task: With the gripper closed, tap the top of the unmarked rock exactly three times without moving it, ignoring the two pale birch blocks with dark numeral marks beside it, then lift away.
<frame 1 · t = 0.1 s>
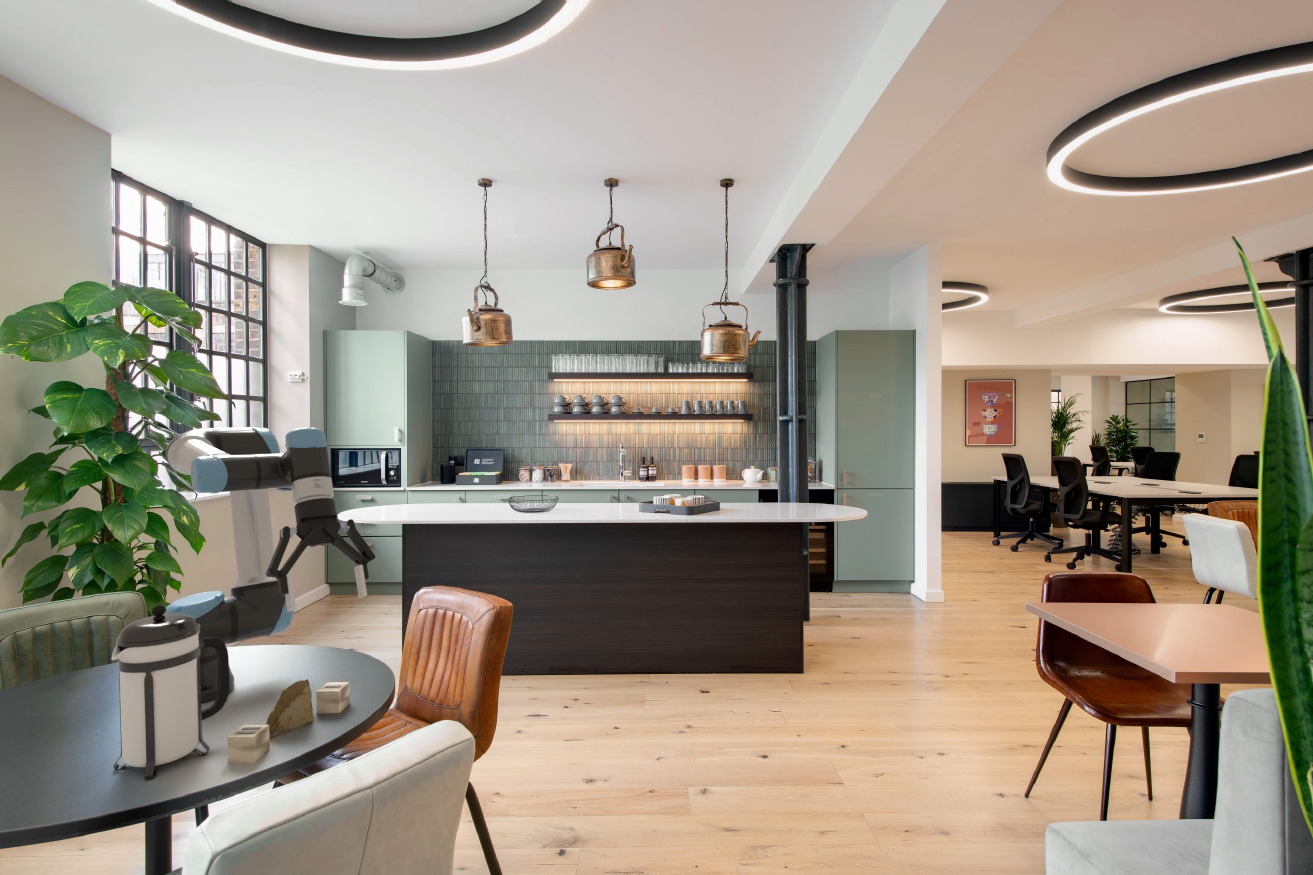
hand: (328, 603, 131), 28 cm above the table, tool tilted 20°, fingers open, 13 cm apart
rock: (289, 728, 138), on the table
coffee press: (169, 758, 126), on the table
birch block 1: (249, 756, 126), on the table
birch block 2: (333, 708, 147), on the table
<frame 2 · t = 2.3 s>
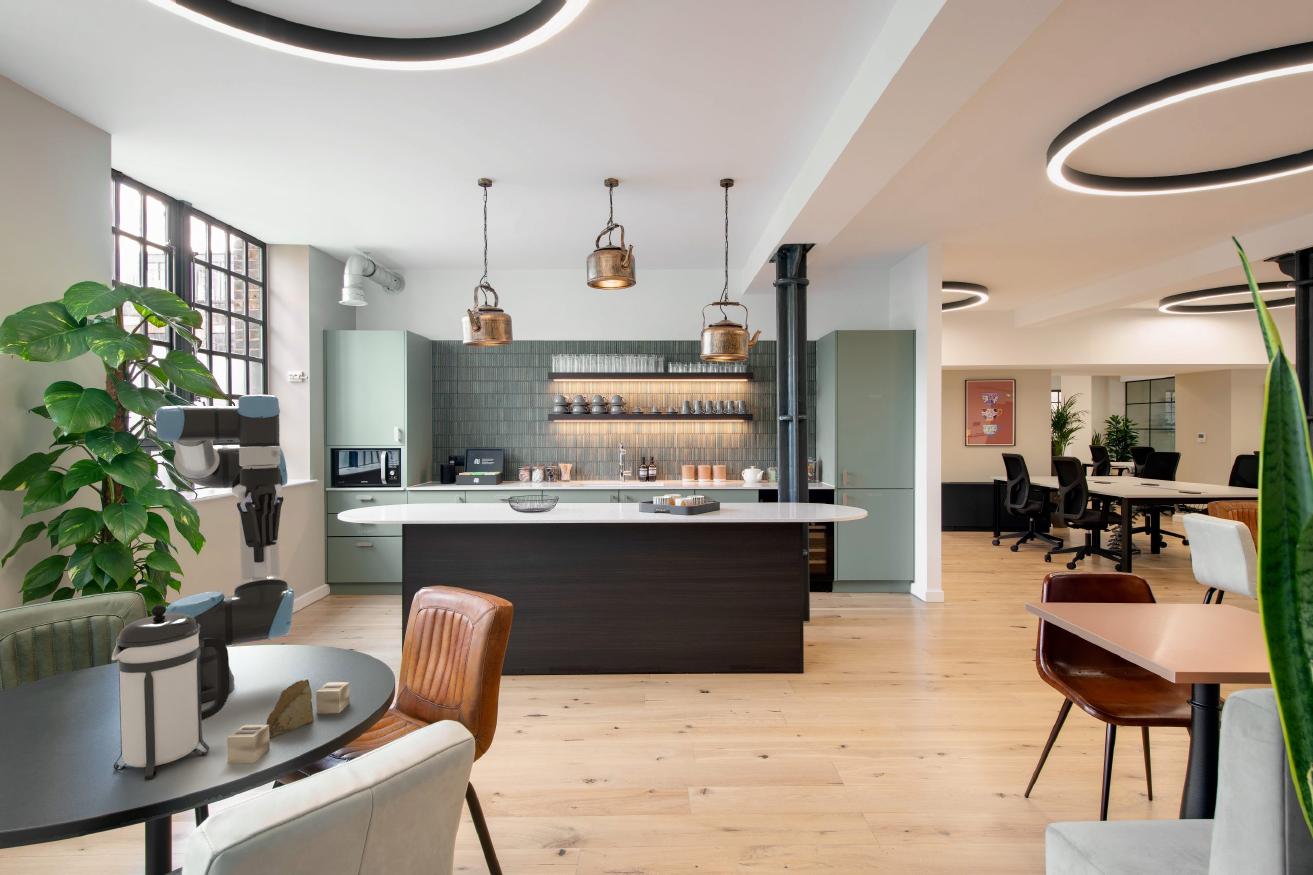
hand: (263, 576, 140), 31 cm above the table, tool pointing down, fingers closed
nothing on the table moved.
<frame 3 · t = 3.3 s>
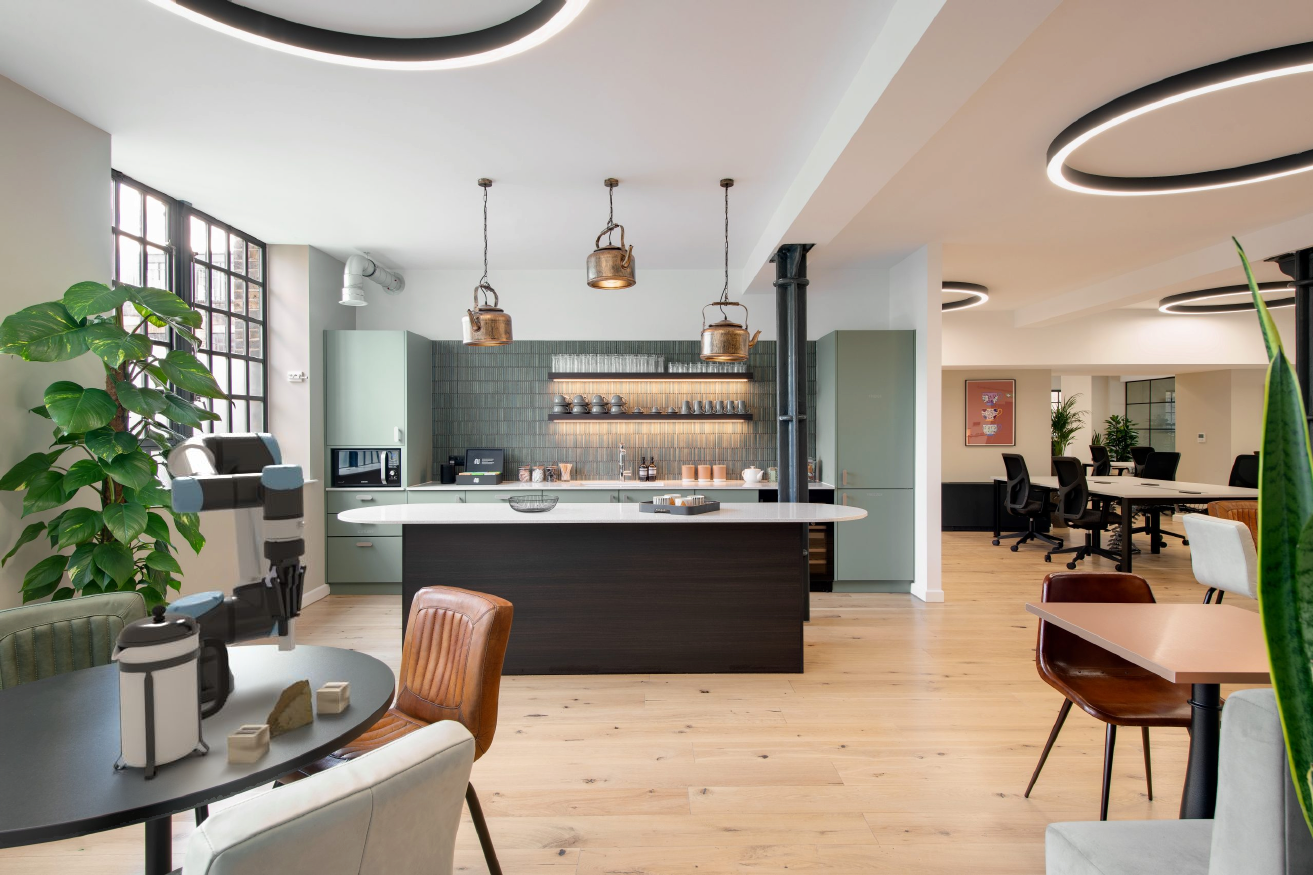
hand: (286, 649, 138), 17 cm above the table, tool pointing down, fingers closed
nothing on the table moved.
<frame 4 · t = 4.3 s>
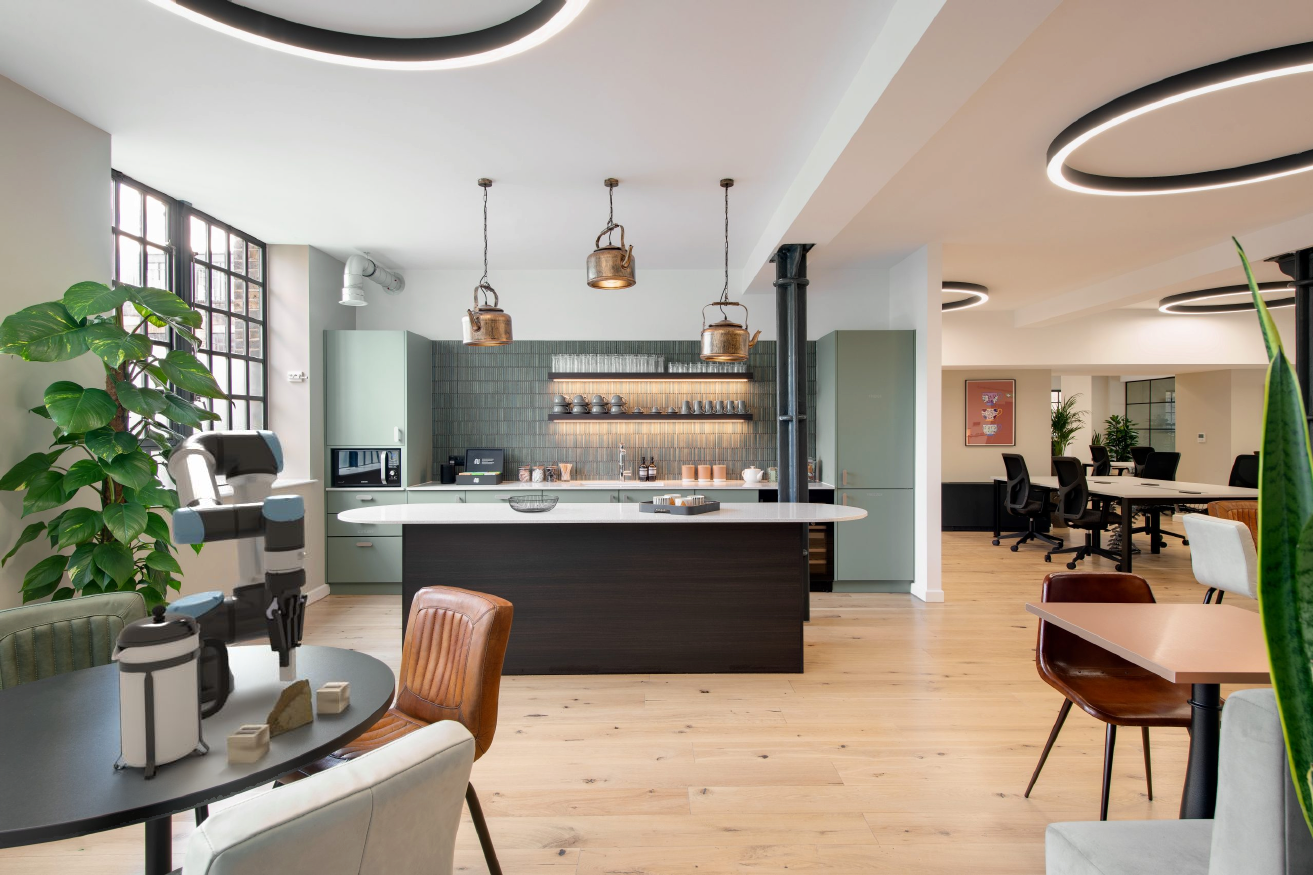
hand: (288, 679, 138), 10 cm above the table, tool pointing down, fingers closed
rock: (288, 728, 138), on the table, touching gripper
everything else where it was.
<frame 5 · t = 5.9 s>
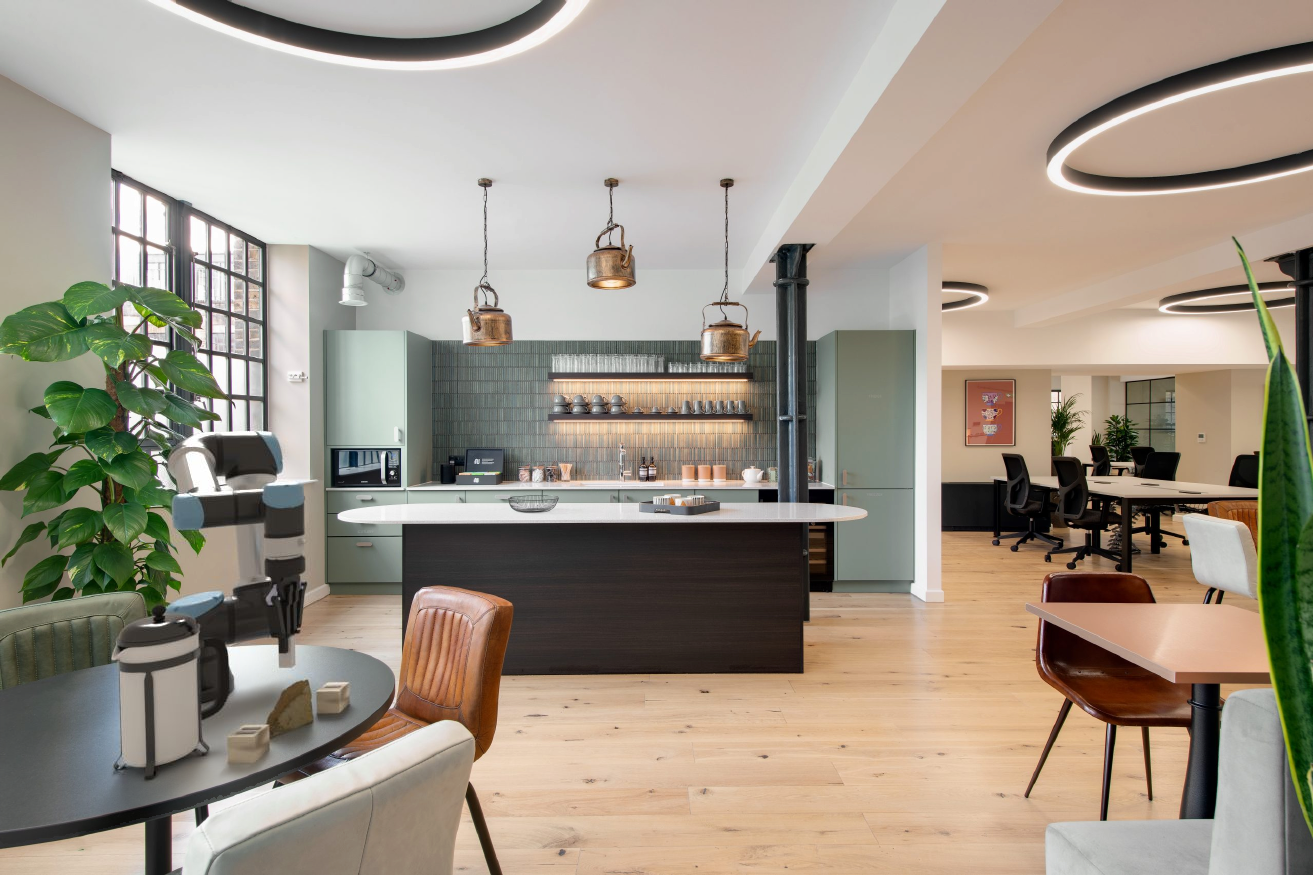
hand: (287, 666, 138), 13 cm above the table, tool pointing down, fingers closed
rock: (288, 728, 138), on the table
everything else where it was.
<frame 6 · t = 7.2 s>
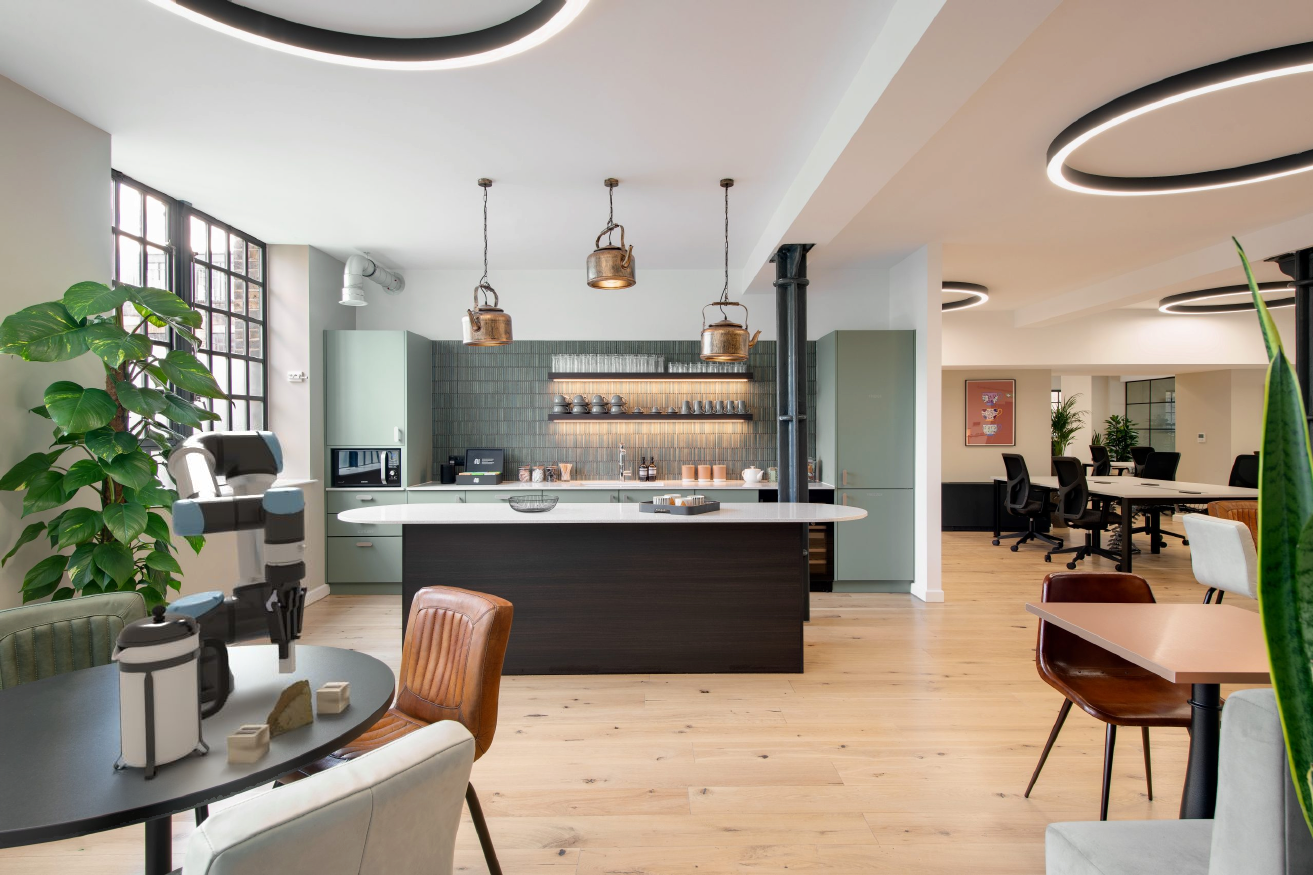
hand: (287, 671, 138), 12 cm above the table, tool pointing down, fingers closed
nothing on the table moved.
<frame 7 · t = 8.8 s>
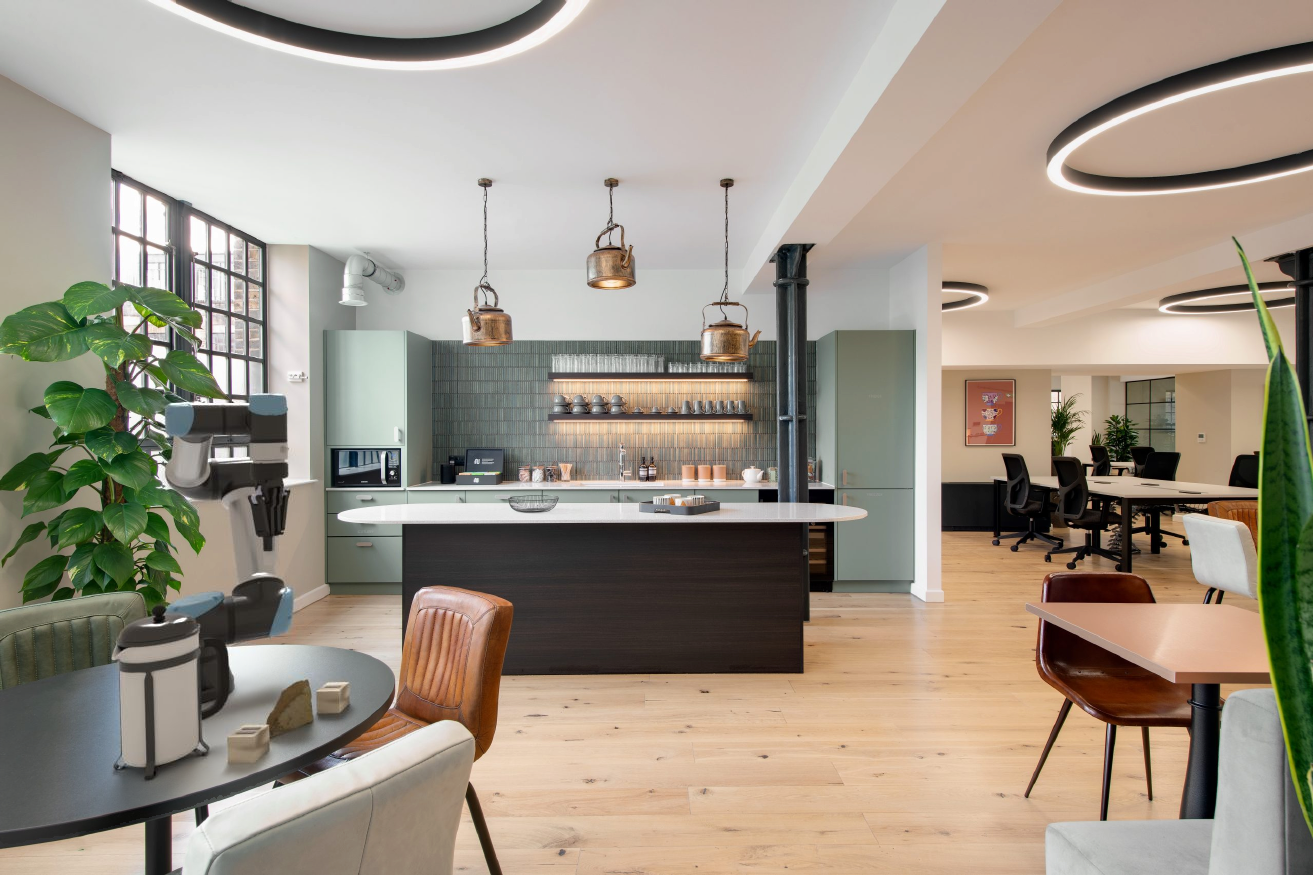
hand: (271, 564, 149), 32 cm above the table, tool pointing down, fingers closed
nothing on the table moved.
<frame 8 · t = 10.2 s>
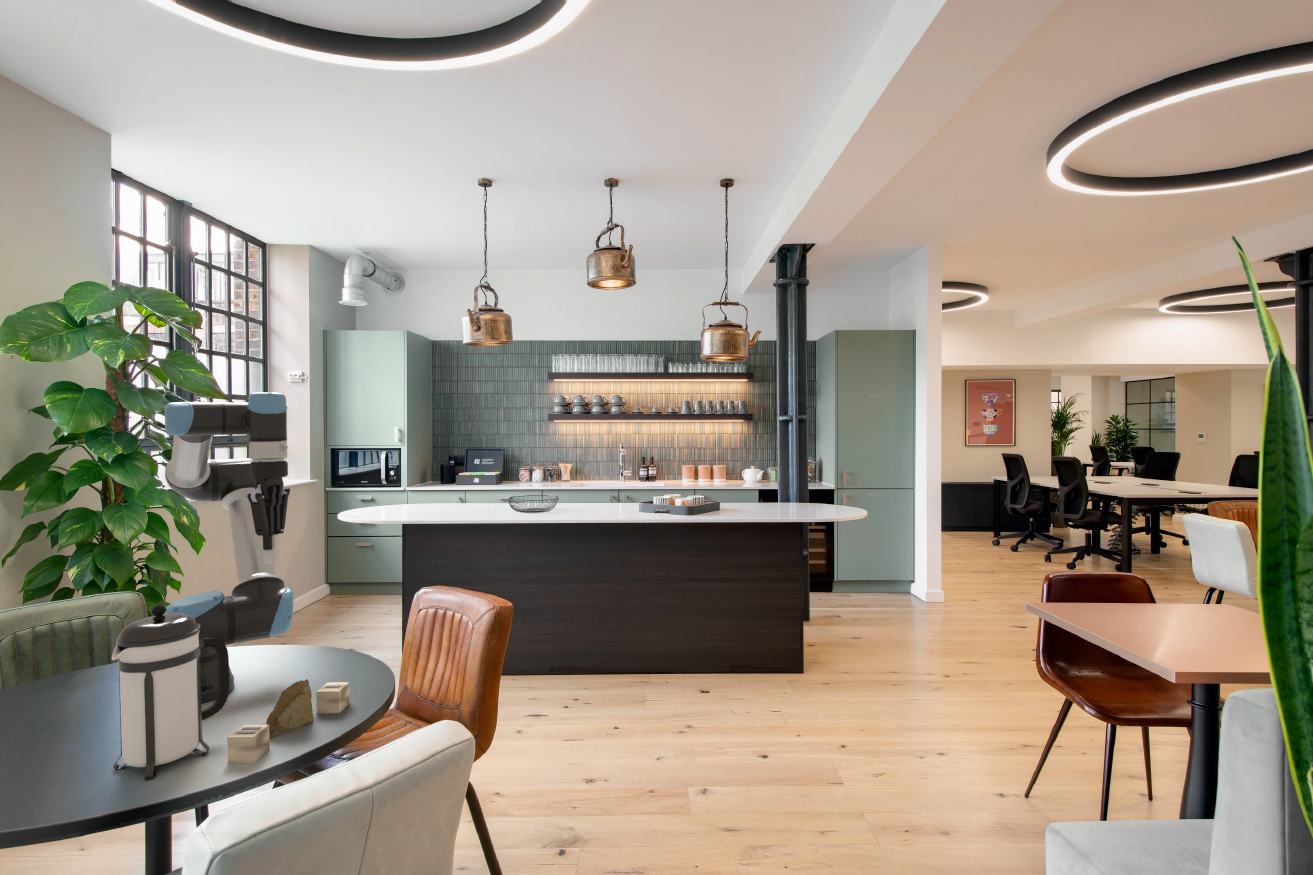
hand: (271, 563, 149), 32 cm above the table, tool pointing down, fingers closed
nothing on the table moved.
at the end: rock moved 0.3 cm from its start; rock tilted 0°; birch block 2 moved 0.1 cm from its start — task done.
